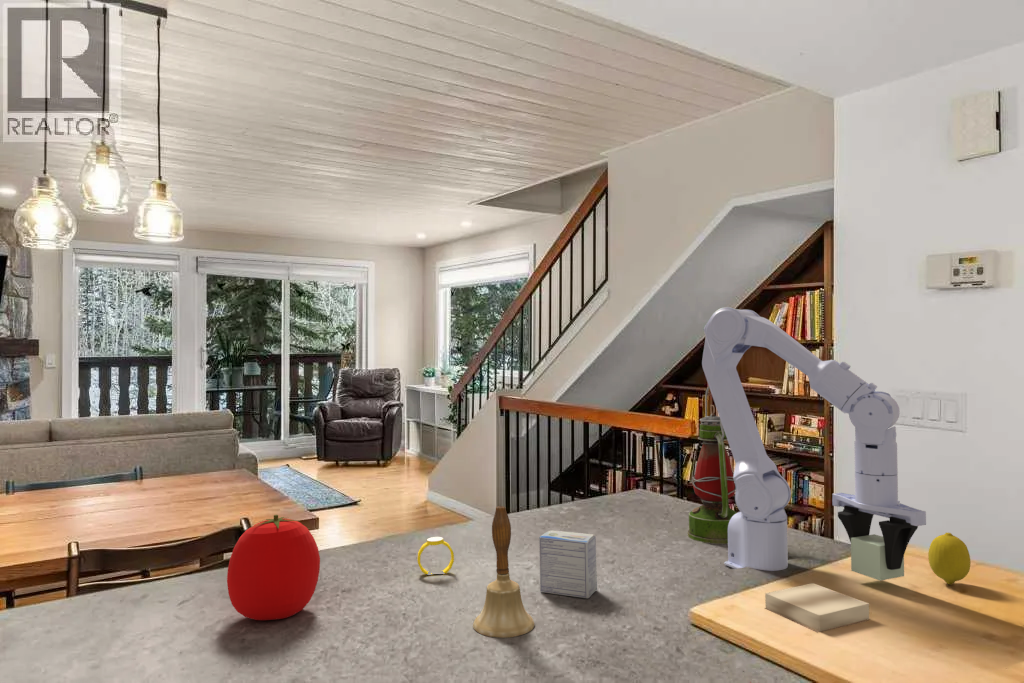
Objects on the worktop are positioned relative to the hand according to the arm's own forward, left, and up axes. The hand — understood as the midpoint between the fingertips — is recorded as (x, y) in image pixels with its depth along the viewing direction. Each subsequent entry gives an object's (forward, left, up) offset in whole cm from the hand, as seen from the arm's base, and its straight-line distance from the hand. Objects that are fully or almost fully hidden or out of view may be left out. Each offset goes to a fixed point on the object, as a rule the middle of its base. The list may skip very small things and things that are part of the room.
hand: (877, 563), depth 104 cm
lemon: (+2, +13, -5) cm, 14 cm away
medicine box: (-20, -42, -5) cm, 47 cm away
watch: (-37, -58, -5) cm, 69 cm away
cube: (0, 0, -2) cm, 2 cm away
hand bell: (-12, -56, -5) cm, 57 cm away
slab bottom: (+5, -18, -5) cm, 19 cm away
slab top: (+5, -18, -3) cm, 19 cm away
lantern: (-36, -1, -5) cm, 36 cm away
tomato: (-29, -84, -5) cm, 89 cm away
